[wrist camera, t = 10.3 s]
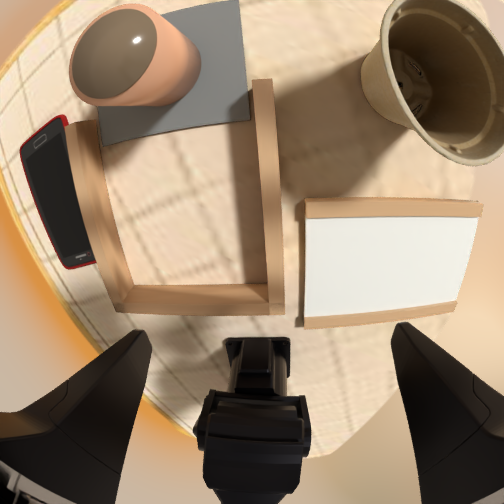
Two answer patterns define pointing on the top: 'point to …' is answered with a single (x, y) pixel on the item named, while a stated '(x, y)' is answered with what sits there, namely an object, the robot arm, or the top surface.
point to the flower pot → (440, 78)
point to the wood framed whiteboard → (384, 258)
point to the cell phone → (56, 193)
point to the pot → (133, 60)
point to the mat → (207, 86)
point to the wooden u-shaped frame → (182, 296)
